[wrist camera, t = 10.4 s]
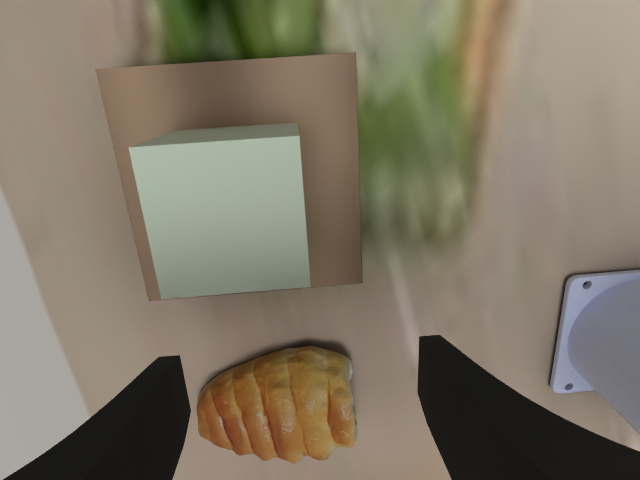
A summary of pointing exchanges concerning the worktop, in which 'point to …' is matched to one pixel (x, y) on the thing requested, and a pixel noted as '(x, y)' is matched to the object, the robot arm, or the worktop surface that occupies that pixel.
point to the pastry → (281, 405)
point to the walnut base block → (246, 110)
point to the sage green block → (224, 209)
